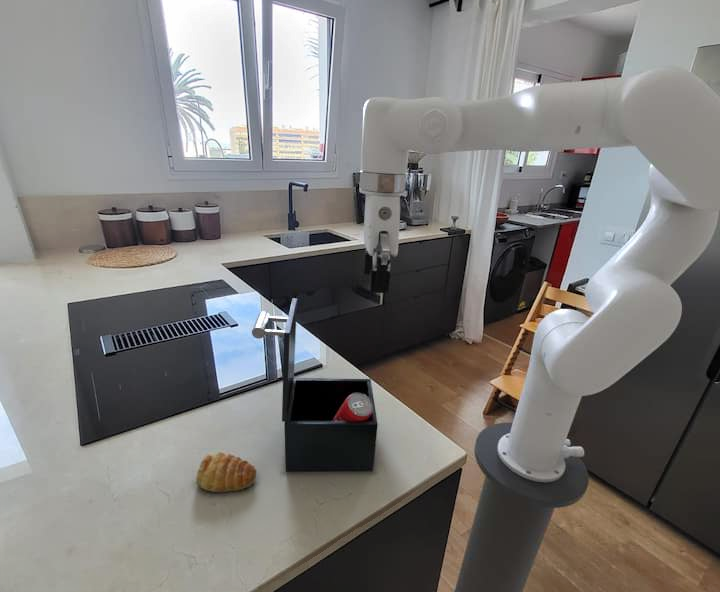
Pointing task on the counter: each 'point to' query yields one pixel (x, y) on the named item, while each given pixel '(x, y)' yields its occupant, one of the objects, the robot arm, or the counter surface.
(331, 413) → the waste bin
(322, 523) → the counter surface
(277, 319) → the bin lid
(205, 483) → the pastry
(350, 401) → the beverage can
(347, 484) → the counter surface
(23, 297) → the counter surface
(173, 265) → the counter surface
